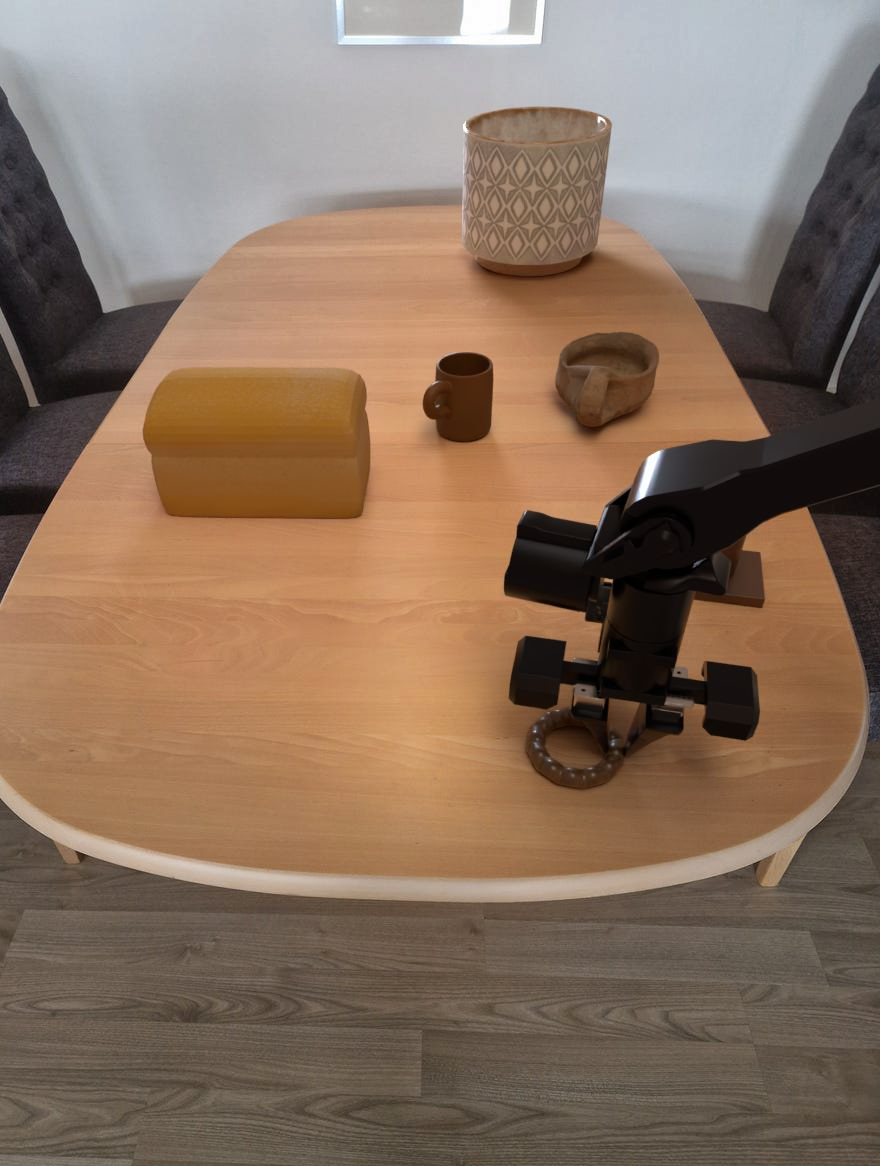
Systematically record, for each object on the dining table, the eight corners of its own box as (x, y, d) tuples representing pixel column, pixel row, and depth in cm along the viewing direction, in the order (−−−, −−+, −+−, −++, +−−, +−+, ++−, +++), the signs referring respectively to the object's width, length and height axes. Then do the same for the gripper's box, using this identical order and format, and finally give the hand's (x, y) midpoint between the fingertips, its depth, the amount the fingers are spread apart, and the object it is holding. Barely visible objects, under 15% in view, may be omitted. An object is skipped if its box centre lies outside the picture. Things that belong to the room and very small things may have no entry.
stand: (757, 560, 92) (775, 506, 87) (762, 608, 86) (781, 552, 81) (682, 551, 93) (695, 497, 88) (681, 597, 88) (696, 542, 83)
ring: (625, 724, 75) (628, 712, 74) (620, 799, 70) (623, 787, 69) (532, 709, 77) (534, 697, 76) (520, 781, 71) (521, 769, 70)
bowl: (671, 438, 108) (663, 367, 101) (563, 459, 112) (548, 393, 106) (660, 373, 120) (652, 306, 114) (562, 395, 125) (549, 332, 118)
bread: (372, 462, 109) (365, 352, 98) (362, 520, 100) (353, 405, 89) (189, 460, 111) (163, 352, 100) (162, 517, 101) (131, 404, 91)
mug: (448, 464, 108) (449, 397, 101) (403, 445, 112) (401, 379, 105) (502, 426, 114) (505, 360, 108) (458, 409, 118) (458, 345, 112)
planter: (493, 291, 149) (499, 150, 133) (442, 245, 166) (442, 116, 151) (620, 268, 154) (640, 131, 139) (557, 226, 172) (569, 100, 156)
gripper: (772, 565, 65) (725, 700, 76) (533, 537, 69) (520, 669, 79) (784, 665, 57) (730, 799, 68) (513, 628, 61) (502, 760, 72)
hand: (615, 751), depth 72 cm, fingers closed on ring, 1 cm apart
